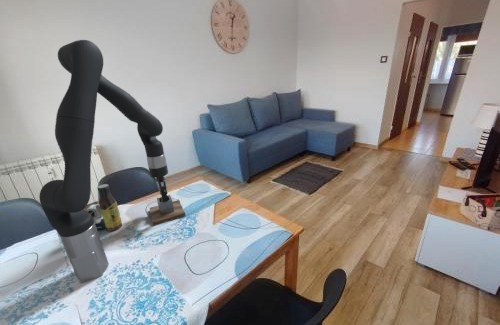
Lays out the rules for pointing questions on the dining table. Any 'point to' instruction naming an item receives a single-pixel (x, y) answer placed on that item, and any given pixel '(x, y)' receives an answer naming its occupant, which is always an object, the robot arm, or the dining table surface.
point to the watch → (97, 216)
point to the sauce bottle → (109, 208)
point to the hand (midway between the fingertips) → (164, 197)
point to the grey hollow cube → (165, 205)
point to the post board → (159, 218)
